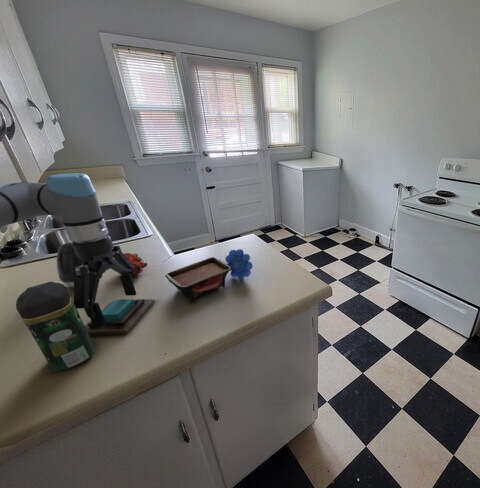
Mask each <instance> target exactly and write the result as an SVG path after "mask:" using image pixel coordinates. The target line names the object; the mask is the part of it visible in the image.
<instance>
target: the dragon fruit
mask: <svg viewBox="0 0 480 488" xmlns="http://www.w3.org/2000/svg"><path fill="white" fill-rule="evenodd" d="M123 254H124V255H125V256H126V257H127V258H128V259H129V261H130V262H131V263H132V264H133V265H134V267H135V268H134V269H133V270H134V274H131V276H132V278H134V277H136V274H142V272H143V269H144V268H146V267H147V266H148V262H145V261H144V260H143V259H142V257H139V254H138V253H131V252H125V253H123ZM118 274H119V275H120V276H122V275H121V274H120V273H118Z"/></svg>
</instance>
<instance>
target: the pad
mask: <svg viewBox="0 0 480 488" xmlns="http://www.w3.org/2000/svg"><path fill="white" fill-rule="evenodd" d="M133 300H134V299H133V298H127V299H125V298H124V299H114V300H112V301H113V302H112V301H111V302H112V303H111V302H110V303H111V304H110V303H109V304H110V305H109V304H108V305H109V306H108V305H107V306H108V307H107V306H106V307H107V308H105V307H104V308H105V309H104V308H103V309H104V310H103V309H102V310H103V311H102V310H101V311H102V314H103V316H104V319H105V321H106V323H107V322H114V321H115V320H121V319H122V318H123V317H124V316H125V315H126V314H127V313H128V312H129V311H130V310H131V309H132V308H133V307H134V306H135V304H134V301H133Z"/></svg>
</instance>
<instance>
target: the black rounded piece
mask: <svg viewBox="0 0 480 488" xmlns="http://www.w3.org/2000/svg"><path fill="white" fill-rule="evenodd" d="M82 264H83V261H82V259H81V258H79V257H78V256H76V254H75V251H74V249H73V246H72V242H66V243H63V244H61V245H60V246H59V248H58V250H57V253H56V271H57V275H58V278H59V280H60V282H62V284H63V285H65V286H66V287H70V288H74V275H73V272H72V268H73V267H79V266H81V265H82ZM91 275H96V274H93V273H91Z"/></svg>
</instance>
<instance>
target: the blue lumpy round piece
mask: <svg viewBox="0 0 480 488" xmlns="http://www.w3.org/2000/svg"><path fill="white" fill-rule="evenodd" d="M224 259H225V260H224V262H225V263H227V264H228V265H229V266H230V267H231V269H230V271H229V272H230V276H231V277H232V278H237V279H238V280H240V281H241V280H244V279H245V278H248V277H250V275H251V274H252V272H251V270H252V269H253V267H254V265H253V263H252V262H251V261H250V259H251V256H250V255H249V254H248V253H245V251H244V250H243V249H242V248H238V249H237V250H236V249H233V248H232V249H230V251H229V252H228V255H226V256H225V258H224Z"/></svg>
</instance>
